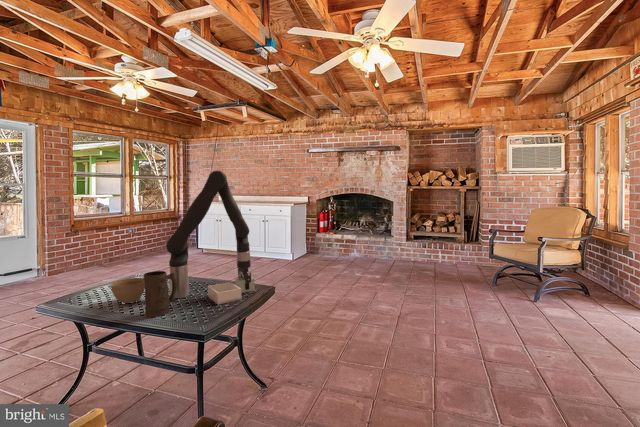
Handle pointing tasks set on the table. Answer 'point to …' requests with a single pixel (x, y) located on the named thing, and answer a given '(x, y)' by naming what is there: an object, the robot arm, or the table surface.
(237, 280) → the small crate
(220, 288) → the big crate
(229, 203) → the robot arm
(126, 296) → the planter bowl
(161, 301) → the beer stein
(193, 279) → the table surface
